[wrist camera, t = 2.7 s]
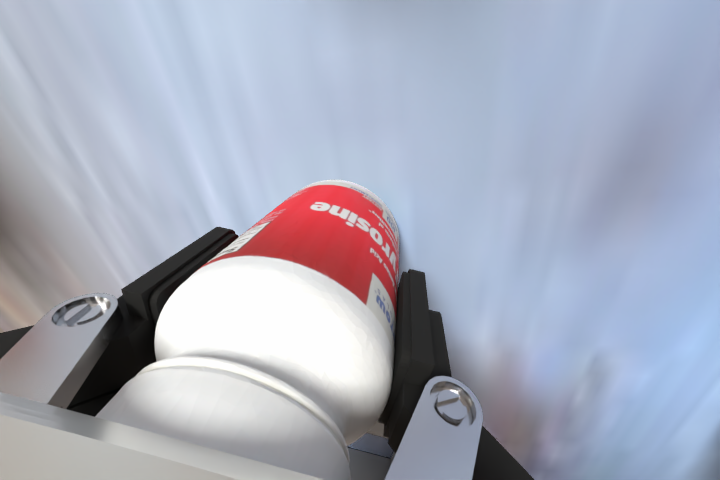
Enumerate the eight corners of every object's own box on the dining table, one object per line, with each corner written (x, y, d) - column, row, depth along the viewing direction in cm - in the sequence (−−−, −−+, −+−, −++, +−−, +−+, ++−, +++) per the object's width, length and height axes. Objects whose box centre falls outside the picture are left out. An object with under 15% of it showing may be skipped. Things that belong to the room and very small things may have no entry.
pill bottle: (423, 250, 14) (468, 608, 4) (334, 300, 16) (224, 603, 6) (347, 148, 12) (104, 338, 2) (259, 220, 14) (-46, 466, 5)
